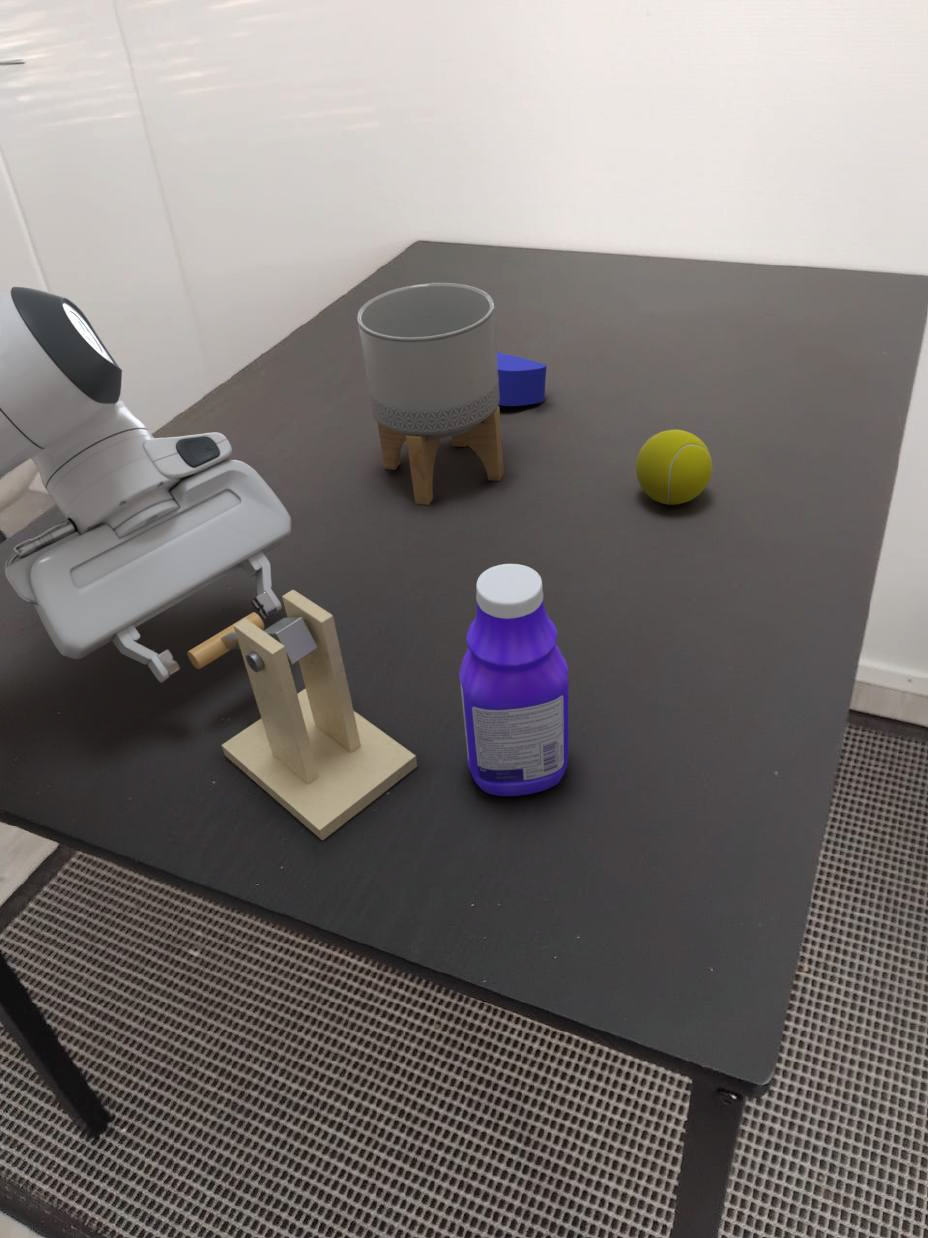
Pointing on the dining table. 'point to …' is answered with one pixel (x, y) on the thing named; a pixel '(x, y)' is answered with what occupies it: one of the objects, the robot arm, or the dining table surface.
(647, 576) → the dining table surface
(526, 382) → the toy
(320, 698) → the bracket
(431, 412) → the planter
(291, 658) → the lever
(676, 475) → the tennis ball
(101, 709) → the dining table surface
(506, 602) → the bottle
